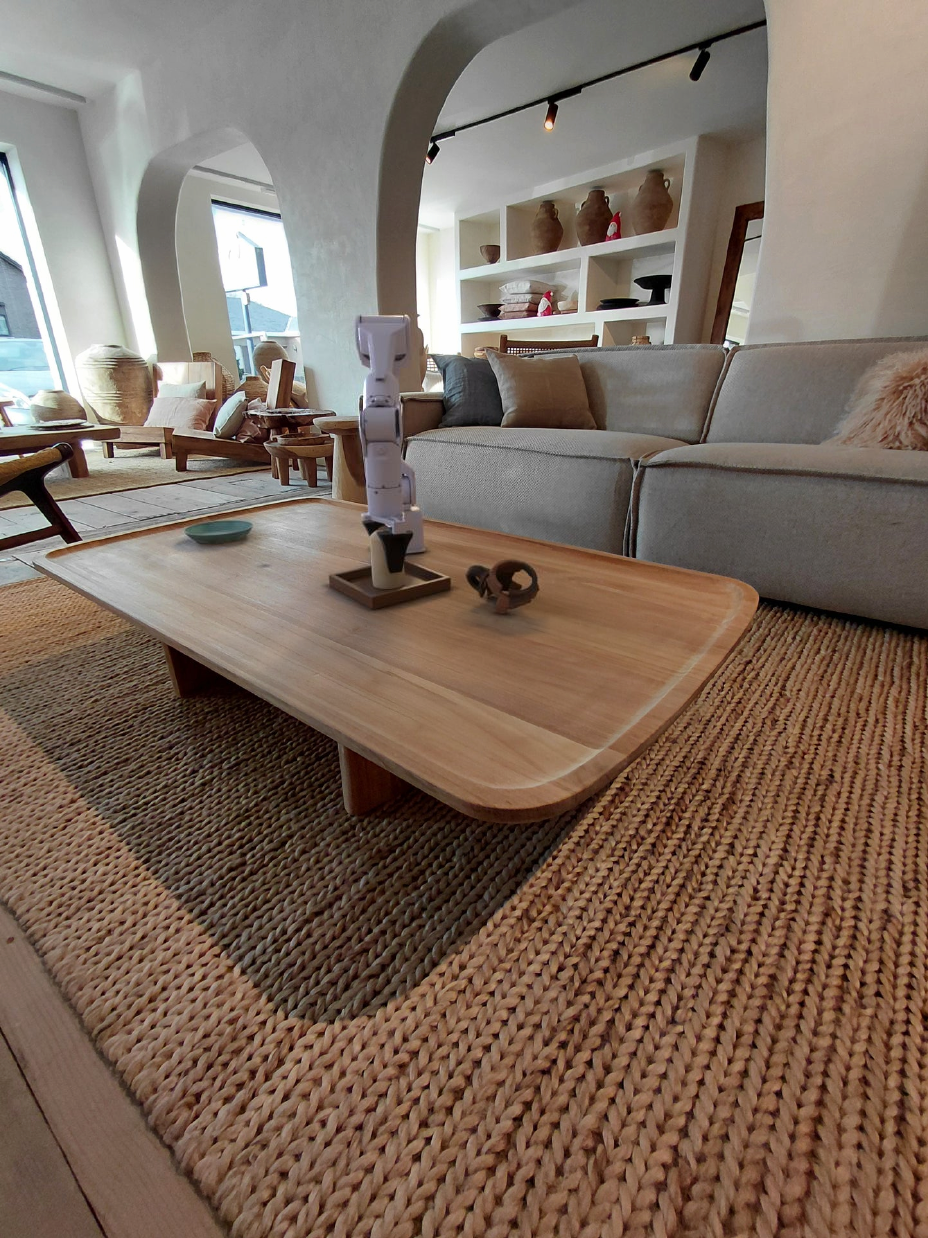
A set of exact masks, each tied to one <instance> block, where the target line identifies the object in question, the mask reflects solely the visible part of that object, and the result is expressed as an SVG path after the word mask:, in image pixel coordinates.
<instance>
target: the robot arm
mask: <svg viewBox="0 0 928 1238" xmlns="http://www.w3.org/2000/svg"><path fill="white" fill-rule="evenodd" d="M411 329H412V328H411V318H410V317H409V316H408V314H404V315H362V314H356V316H355V317H354V339H355V347H356V350H357V354H358V358H359V360H360V361H361V365H362V366H363V367H366V368H368V369H370V372H371V373H369V374H368V375H366V377H365V379H364V383H363V404H362V406H363V408H362V410H360V411H359V414H358V431H359V437H360V441H361V446H362V457H363V458H364V466H365V480H366V482H365V483H366V499H367V512H363V513H361V519H362V521H361V524H362V525H363V527H364V529H365V530H366V533H367V535H368V538H369V539H370V536H371V534H372V533H373V532H375V531H377V530H378V529H379V528H380V527H382V526H386V525H387V526H388V528H389V531H379V532H377V535H378V537H379V539H380V541H381V543H382V546H383V549H384V552H385V557H386V563H387V567H388V570H389V573H399V572H402V570H403V565H404V560H405V559H406V555H407V554H415V553H423V552H426V549H425V539H424V535H425V533H424V517H423V513H422V510H421V509H420V508H419V506H416V504H417V482H416V480H417V479H416V471H415V469H414V467H413V466H412V464H410V463H409V462H407V461H406V460H405V459H403V458H402V452H401V451H402V450H401V446H402V445H403V440H404V431H403V428H404V427H403V414H402V410H401V403H400V382H399V378H400V375H401V371H402V370H403V369H404V368H407V367H409V366H410V363H411V362H410V361H411V360H412V353H411V351H412V334H411V333H412V331H411Z"/></svg>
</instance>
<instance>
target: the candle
mask: <svg viewBox="0 0 928 1238" xmlns="http://www.w3.org/2000/svg"><path fill="white" fill-rule="evenodd" d="M379 531H389V528H388V526H387V525H386V526H382V527H380V528H379V529H378V530H377V531H375V532H373V533H372V534H371V536H370V538H369V547H370V561H371V565H372V579H373V585H374V587H376V588H380V589H394V588H399V587H401V586H403V585H404V583H405V575H404V565H403V570H402V572H399V573H389V570H388V567H387V563H386V557H385V552H384V549H383V546H382V543H381V541H380V539H379V537H378V535H377V532H379Z"/></svg>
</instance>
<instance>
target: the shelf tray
mask: <svg viewBox="0 0 928 1238" xmlns="http://www.w3.org/2000/svg"><path fill="white" fill-rule="evenodd" d="M404 575H405V583H404V585H403V586H401V587H399V588H394V589H380V588H376V587H374V585H373V579H372V564H371V565H367V566H362V567H359V568H353V569H349V570H344V571H340V572H339V571H338V572H336V573H330V574H328V583H329V587H331V588H333V590H336V591H338V592H340V593H341V594H343V595H345V596H347V597H349V598H350V599H353V600H355V601H356V602H358V603H359V604H361V605H363V606H365V607H367V608H368V609H370V610H373V611H374V610H377V609H382V608H384V607H385V608H386V607H388V606H392V605H396V604H399V603H404V602H406V601H410V600H415V599H418V598H421V597H425V596H429V595H433V594H437V593H440V592H443V591H447V590H451V589H452V577H451V576H449V575H446V574H444V573H441V572H439V571H436V570H433V569H431V568H429V567H426V566H424V565H421V564H418V563H416V562H414V561H411V560H408V559H406V558H405V560H404Z"/></svg>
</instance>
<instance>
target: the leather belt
mask: <svg viewBox="0 0 928 1238" xmlns="http://www.w3.org/2000/svg"><path fill="white" fill-rule="evenodd" d="M522 571H524V572H526V573H527V575H528V577H530V578H531V584H530V585H529V586H528V587H526V588H524V589H522V588H523V585H522V583H519V582H517V581H515V580H514V579H513V577H514V576H515V574H516V573H520V572H522ZM465 578H466V581H467V583H468V585H469V586H470V587H471V588H472V589H473V590H475V591H476V592H477V593H478V595H479V597H480V598H483V597H484V596H485V595H486V596H487V597H488V598H490V597H491V596H492V595H494V596H495V597H496V598H497V601H496V604H495V605H494V611H495V612H497V613H499V614H500V615H504V614H505V613H506V612H508V610H514V609H517V608H520V607H523V606H526V605H528V604H530V603H531V602H532V600H534V599H535V598H536V597H537V595H538V592H540V586H539V581H538V580H539V579H538V575H537V572H536V570H535V569H534V568H533V566H531V565H530V564H528V563H526V562H524V561H521V560H518V559H512V558H510V559H508V558H507V559H503V560H499V561H498V562H496V563H495V564H494V565H493V566H492V567H491V568H488V567H485V566H483V565H479V564H474V565H471V566H469V567H468V569H467V571H466V573H465ZM504 592H508V594H507V593H504Z"/></svg>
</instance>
